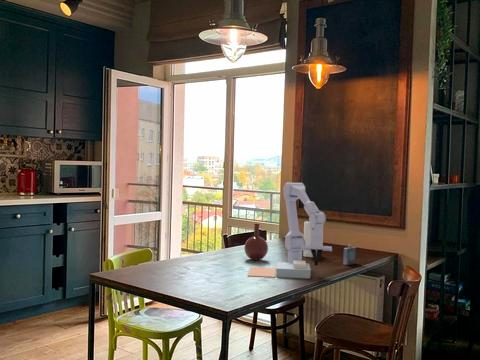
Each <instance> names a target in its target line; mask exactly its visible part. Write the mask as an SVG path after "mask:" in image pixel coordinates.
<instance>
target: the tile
mask: <svg viewBox="0 0 480 360" xmlns="http://www.w3.org/2000/svg"><path fill="white" fill-rule="evenodd" d="M293 268H306V260H302V261H299V260H293Z"/></svg>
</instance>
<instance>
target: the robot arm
mask: <svg viewBox="0 0 480 360" xmlns="http://www.w3.org/2000/svg"><path fill="white" fill-rule="evenodd" d="M282 189H283V191H282V192H283V199H284V200H285V207H286V215H287V224H288V232H287V234H286V235H285V236H284V246H285V249H286V251H287V263H293V260H299V261H303V260H302V258H303V257H302V256H303V250H311V253H312V255H313V257H312V258H313V261H314V264H313V265H314V266H318V265H319V261H320V258H321V256H322V254H323V252H324V251H327V252H333V247H332V246H328V245H326V246H325V245H324V244H323V243H324V224H325V223H326V221H327V216H326V214H325V213H326V212H323V211H321V210H319V208H318V207H317V205H316V203H315V201H311V199H310V198H309V196H308V194H307V192H306V186H305V184H304V183H303V182H289V181H288V182H285V184H284V186H283V188H282ZM297 200H300V201H301V202H302V204H303V209H304V210H305V213H306V214H307V215H308V220H309V222H310V226H311V245H306V241H305V239H304V233H303V232H301V231H300V227H299V220H298V211H297V203H296V202H297ZM316 250H317V256H316Z"/></svg>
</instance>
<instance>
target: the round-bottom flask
mask: <svg viewBox="0 0 480 360" xmlns="http://www.w3.org/2000/svg"><path fill="white" fill-rule="evenodd" d="M253 225H254V228H253V229H254V232H253V234H254V235H253V236H251V237H248V239H247V240H245V241H246V242H245V243H244V246H243V247H244V248H243V250H244V253H245V255H246V257H247V258H249V259H250V260H252V261H261V260H262V259H264V258H265V257H266V256H267V254H268V251H269V245H268V242H267V241H266V240H265V238H263V237H261V236H260V223H253Z"/></svg>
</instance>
